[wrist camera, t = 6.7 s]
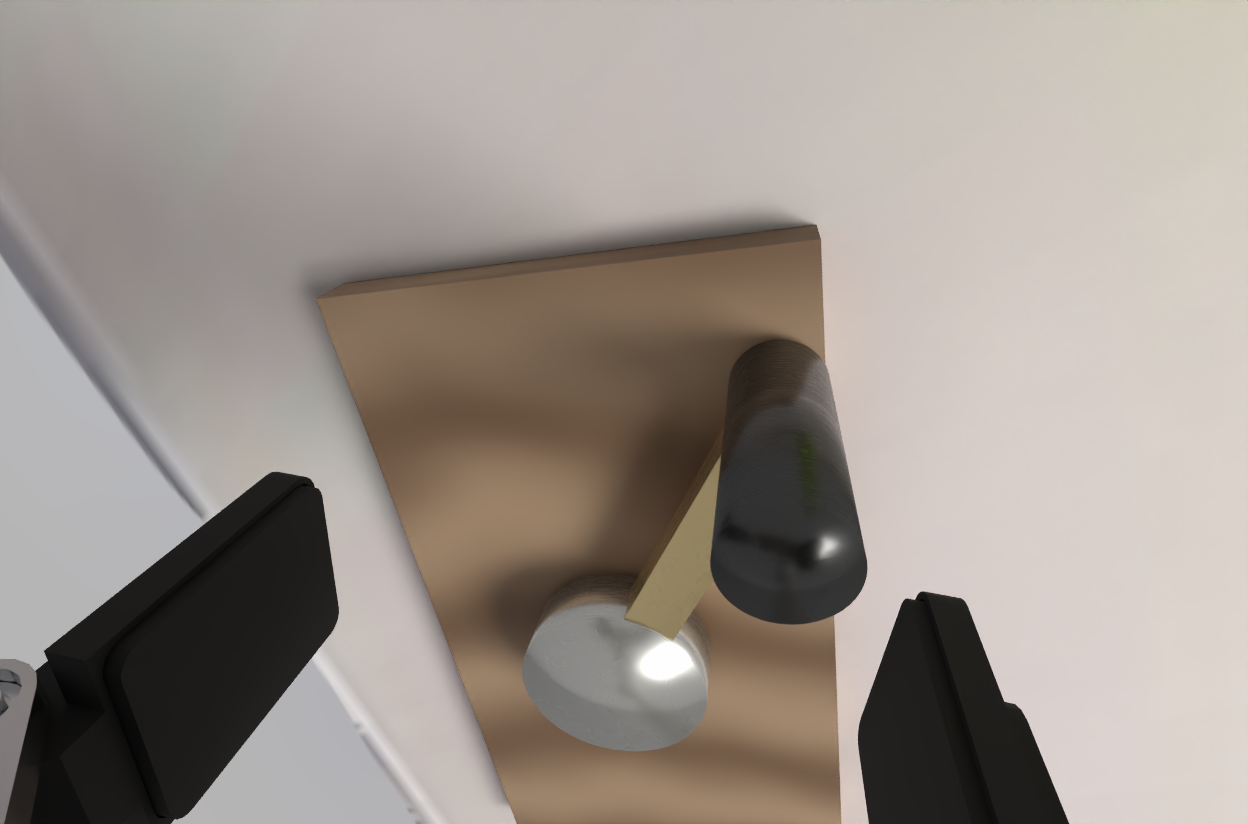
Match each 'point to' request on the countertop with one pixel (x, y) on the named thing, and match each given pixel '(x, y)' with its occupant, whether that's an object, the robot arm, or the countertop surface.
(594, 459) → the brown flat rectangular board
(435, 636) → the countertop surface
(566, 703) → the ice cream scoop
